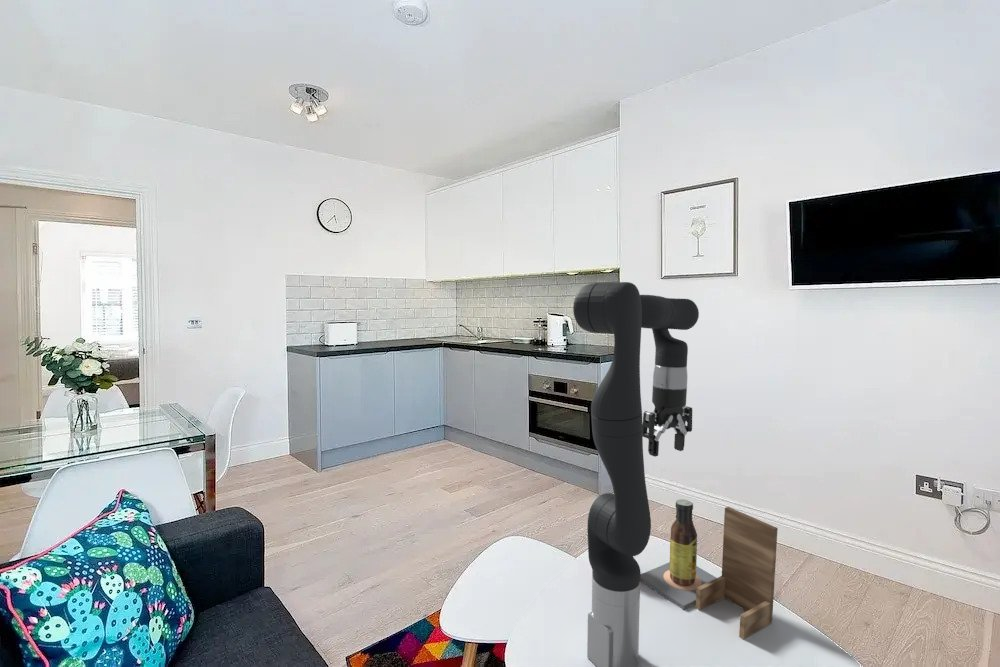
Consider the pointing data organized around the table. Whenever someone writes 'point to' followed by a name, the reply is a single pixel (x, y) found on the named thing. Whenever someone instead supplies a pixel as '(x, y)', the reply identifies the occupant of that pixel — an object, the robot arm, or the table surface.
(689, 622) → the table surface
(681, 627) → the table surface
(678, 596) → the mat
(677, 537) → the sauce bottle
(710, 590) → the shelf nook
